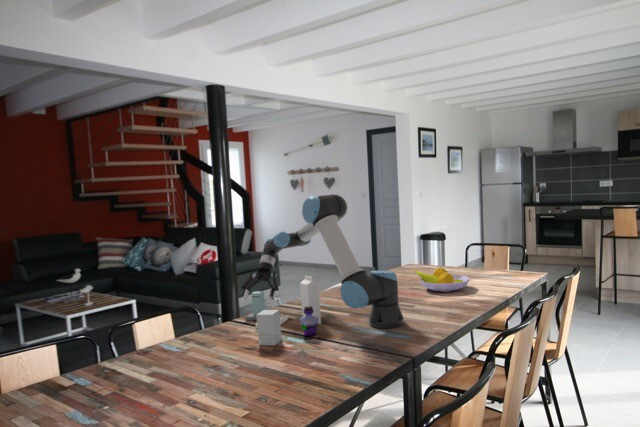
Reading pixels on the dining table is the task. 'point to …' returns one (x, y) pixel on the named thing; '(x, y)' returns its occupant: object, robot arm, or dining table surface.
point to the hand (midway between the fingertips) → (256, 302)
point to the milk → (310, 296)
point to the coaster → (251, 317)
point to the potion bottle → (309, 322)
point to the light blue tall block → (258, 302)
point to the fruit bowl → (443, 280)
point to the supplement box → (269, 327)
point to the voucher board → (282, 319)
